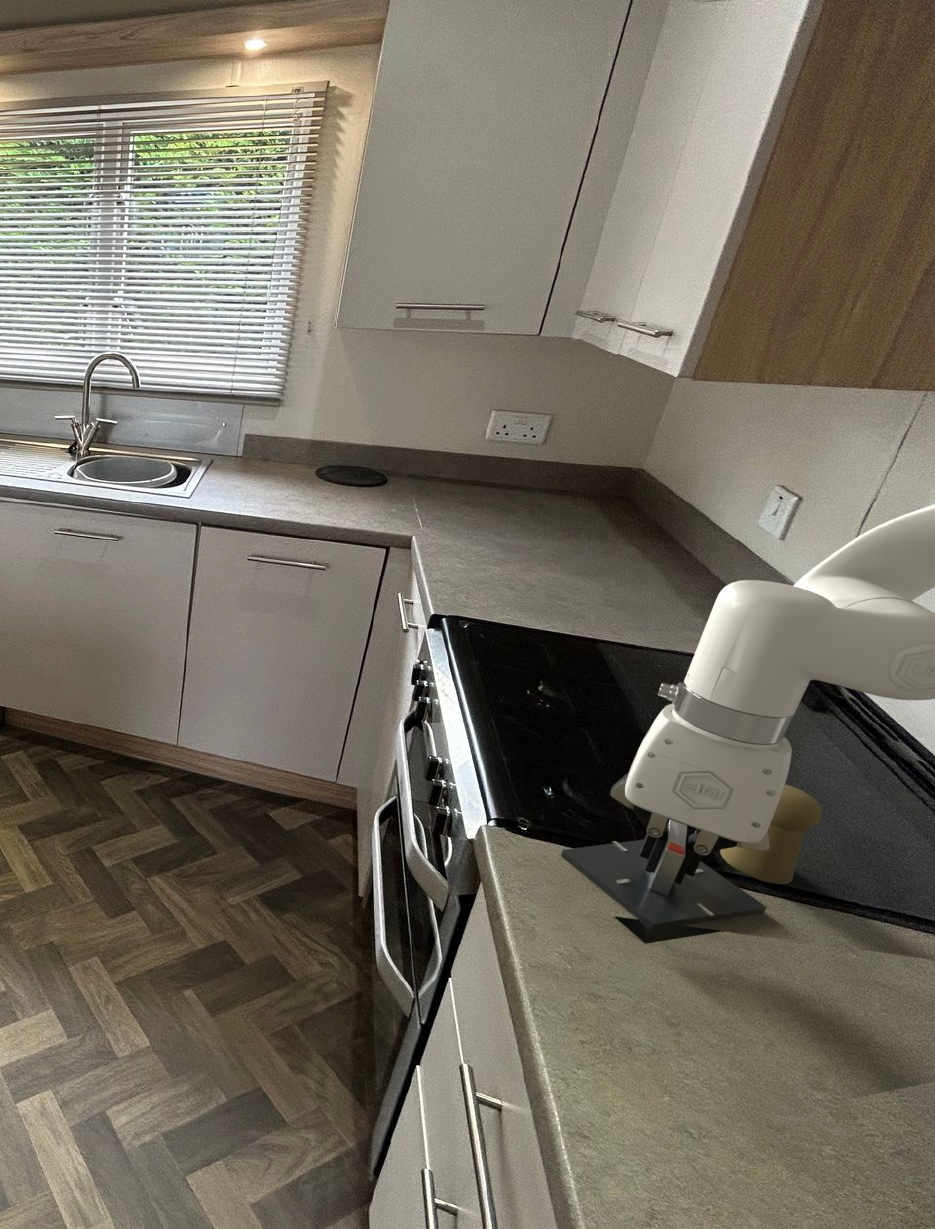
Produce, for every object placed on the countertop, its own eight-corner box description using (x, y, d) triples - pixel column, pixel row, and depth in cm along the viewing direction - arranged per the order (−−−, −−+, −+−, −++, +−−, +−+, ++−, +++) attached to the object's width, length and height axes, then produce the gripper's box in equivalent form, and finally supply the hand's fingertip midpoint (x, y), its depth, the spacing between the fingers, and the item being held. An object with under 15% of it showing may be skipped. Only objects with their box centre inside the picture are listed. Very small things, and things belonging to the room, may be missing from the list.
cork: (762, 903, 76) (806, 815, 72) (697, 862, 81) (734, 778, 77) (803, 892, 78) (849, 805, 74) (736, 852, 83) (775, 769, 79)
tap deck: (656, 854, 83) (664, 834, 82) (758, 927, 73) (768, 906, 72) (555, 867, 80) (562, 847, 80) (646, 944, 71) (655, 923, 70)
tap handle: (653, 857, 78) (670, 817, 77) (670, 864, 78) (688, 823, 76) (649, 889, 74) (667, 847, 72) (667, 896, 73) (686, 854, 72)
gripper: (619, 698, 71) (563, 852, 78) (858, 766, 61) (771, 935, 68) (627, 670, 76) (574, 817, 83) (848, 729, 67) (768, 889, 73)
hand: (663, 869), depth 76 cm, fingers closed
